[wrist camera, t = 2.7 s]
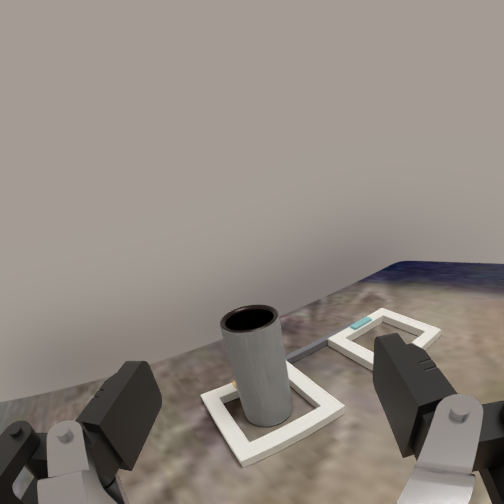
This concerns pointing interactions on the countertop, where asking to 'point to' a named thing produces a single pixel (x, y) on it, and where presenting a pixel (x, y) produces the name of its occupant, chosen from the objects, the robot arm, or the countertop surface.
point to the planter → (258, 363)
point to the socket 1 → (281, 437)
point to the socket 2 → (359, 353)
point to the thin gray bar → (313, 346)
